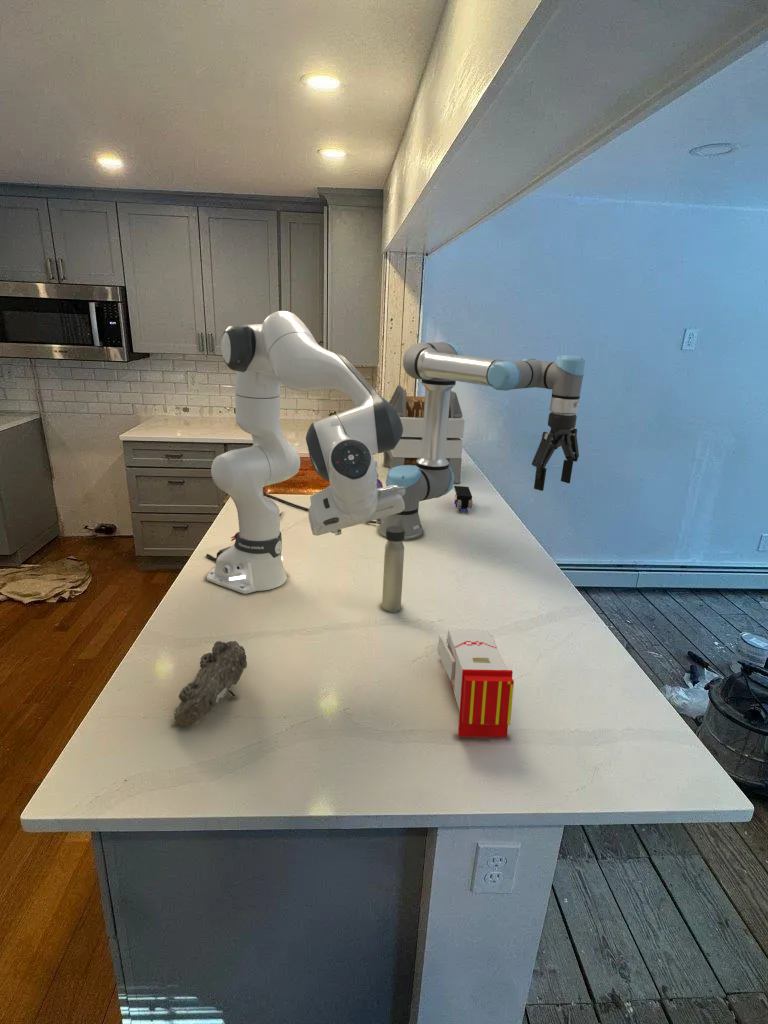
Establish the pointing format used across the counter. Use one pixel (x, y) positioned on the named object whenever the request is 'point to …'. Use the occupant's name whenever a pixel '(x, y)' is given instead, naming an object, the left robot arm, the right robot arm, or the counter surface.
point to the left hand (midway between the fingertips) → (358, 526)
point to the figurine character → (463, 498)
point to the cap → (395, 533)
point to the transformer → (411, 437)
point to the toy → (478, 682)
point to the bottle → (393, 576)
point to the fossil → (211, 682)
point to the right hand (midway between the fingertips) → (552, 485)
